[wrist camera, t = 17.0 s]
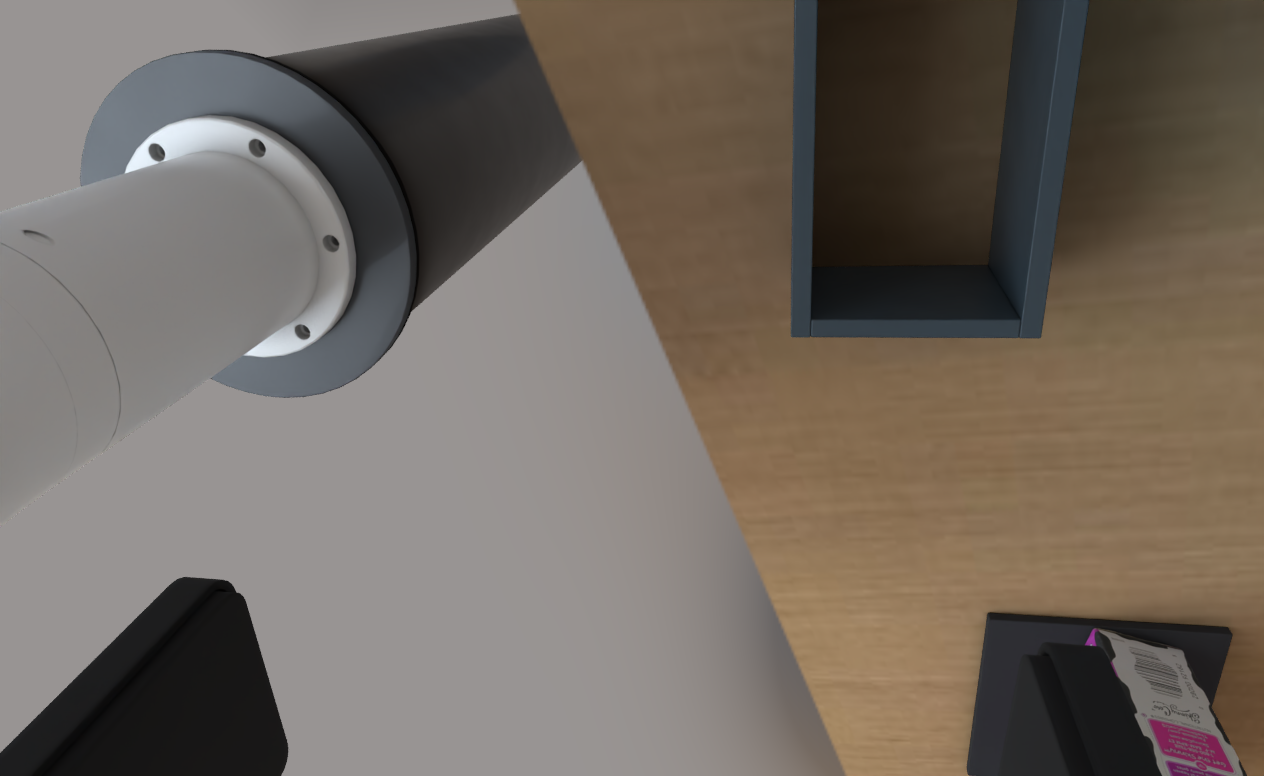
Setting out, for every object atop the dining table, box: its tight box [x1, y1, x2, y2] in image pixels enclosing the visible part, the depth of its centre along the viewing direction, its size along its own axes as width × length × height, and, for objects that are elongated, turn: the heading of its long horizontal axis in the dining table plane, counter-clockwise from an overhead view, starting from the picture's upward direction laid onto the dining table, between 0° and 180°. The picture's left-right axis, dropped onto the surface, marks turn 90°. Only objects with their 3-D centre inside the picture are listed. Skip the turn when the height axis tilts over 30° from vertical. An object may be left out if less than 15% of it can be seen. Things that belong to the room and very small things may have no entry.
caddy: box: [791, 0, 1089, 338], centre depth 34 cm, size 10×16×7 cm, turn 4°
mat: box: [967, 613, 1232, 776], centre depth 49 cm, size 12×12×1 cm
